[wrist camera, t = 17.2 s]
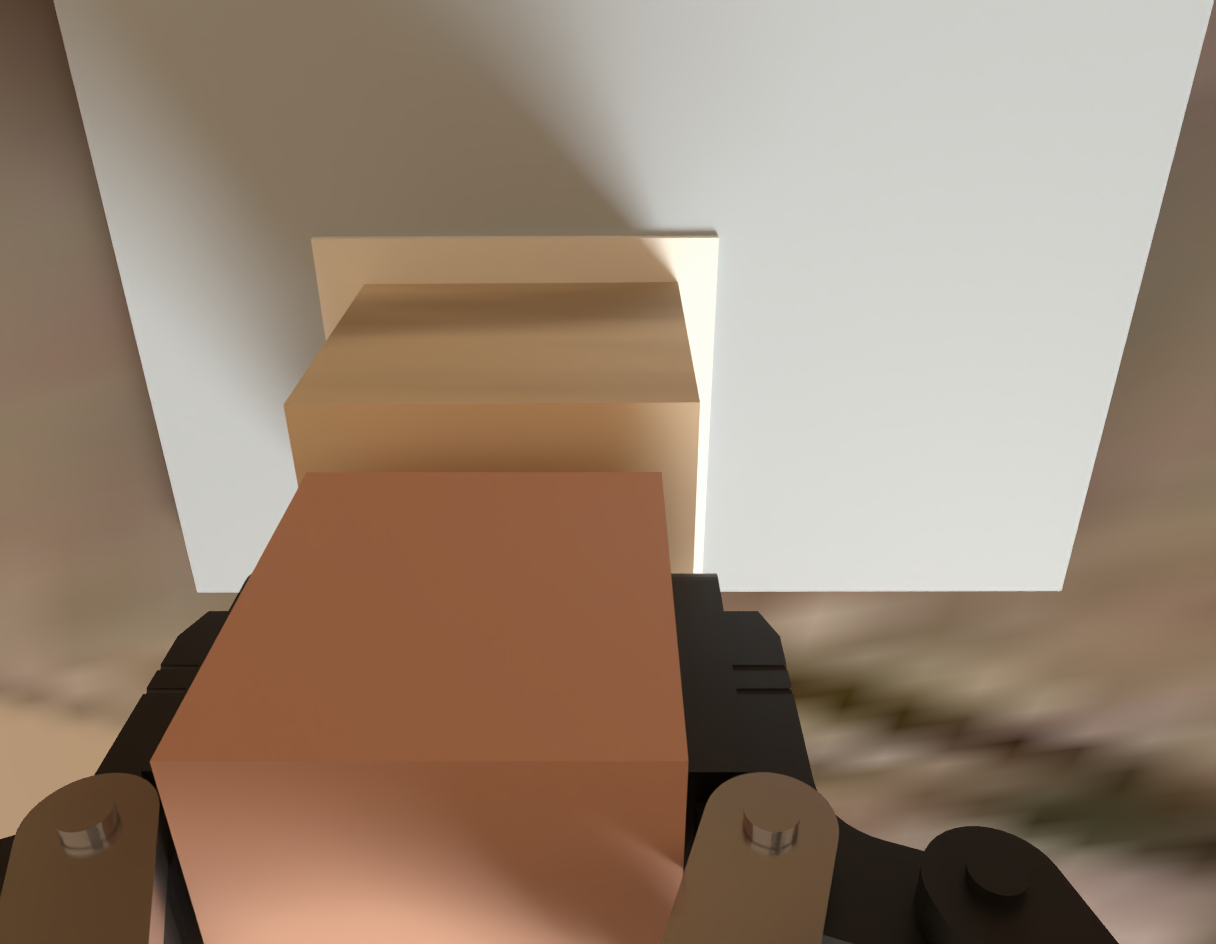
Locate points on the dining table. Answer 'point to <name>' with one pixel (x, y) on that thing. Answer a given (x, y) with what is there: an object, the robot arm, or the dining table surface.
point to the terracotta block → (440, 719)
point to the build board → (666, 239)
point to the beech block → (508, 387)
